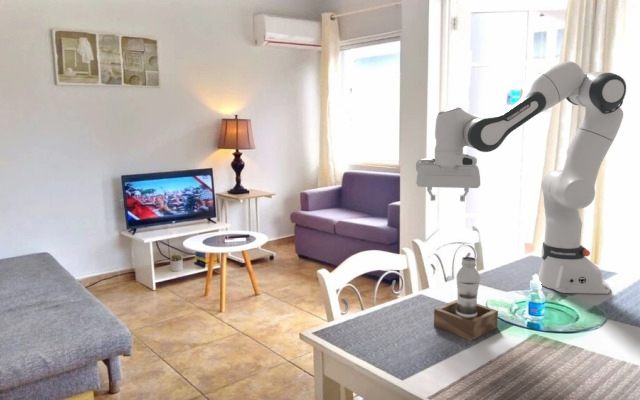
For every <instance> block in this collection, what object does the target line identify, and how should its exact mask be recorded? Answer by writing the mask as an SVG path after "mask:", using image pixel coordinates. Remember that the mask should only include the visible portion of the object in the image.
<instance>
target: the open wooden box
mask: <svg viewBox="0 0 640 400" xmlns="http://www.w3.org/2000/svg"><path fill="white" fill-rule="evenodd" d="M456 307H457V299H455V300H453V301H450V302H448V303H445V304H443V305H440V306H437V307H436V308H435V307H434V310H433V326H435V327H437V328H439V329H442V330H443V331H446V332H449V333H451V334H453V335H456V336H458V337H460V338H464V339H466V340H469V341H470V342H471V341H473V340H476V339H477V338H479V337H481V336H484V335H485V334H487V333H490V332H491V331H493V330H495V329H498V321H499V320H498V318H499V317H498V315H499V311H498V310H497V309H495V308H490V307H488V306H485V305H482V304H479V303H477V313H478V317H477V318H475V319H473V320H471V321H470V320H468V319H465V318H462V317H460V316H457V315H455V311H456Z"/></svg>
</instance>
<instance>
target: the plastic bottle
mask: <svg viewBox="0 0 640 400" xmlns="http://www.w3.org/2000/svg"><path fill="white" fill-rule="evenodd" d="M476 266H477V263H476V258H475V257H472V256H464V257H462V259H461V268H459V269H458V271H457V273H456V275H455V276H456V285H457V299H456V300H457V307H456V311H455V315H457V316H460V317H462V318H465V319H468V320H470V321H471V320H473V319H475V318H477V317H478V313H477V304H478V302H477V301H478V290H479V286H480V282H481V277H480V274H479V272H478V270H477V269H476Z"/></svg>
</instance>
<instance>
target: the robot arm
mask: <svg viewBox="0 0 640 400" xmlns="http://www.w3.org/2000/svg"><path fill="white" fill-rule="evenodd" d="M626 93H627V84H626V81H625V79H624V78H623V77H622V76H620V75H618V74H616V73H613V72H602V71H592V72H583V69H582V68H581V66H580V65H579V64H577V63H576V62H573V61H571V60H568V61H563V62H561V63H558V64H555V65H554V66H551V67H550V68H547V69H546V70H543V71H541V72H540V73H538V74H537V75H535V76H534V77H532V78H531V79H530V80H527V82H526V83H525V84H524V85H523V86H522V87H521V88H520V91H519V100H518V101H517V102H516V103H515V104H513V105H512V106H510V107H509V108H507V109H505V110H504V111H502V112H501V113H499V114H498V115H496V116H494V117H486V118H481V117H478V116H475V115H473V114H471V113H468V112H467V111H465V110H463V109H462V107H453V108H452V107H450V108H446V109H443V110H441V111H439V112H438V114H437V115H436V119H435V129H434V136H435V143H436V144H435V148H434V158H421V159H419V160H418V161H416V163H415V170H416V171H417V175H416V185H417V187H418V188H419V187H420V188H427V189H426V190H427V192H428V194H429V196H430V201H433V202H436V194H434V193H433V192H432V189H433V188H445V189H446V188H453V189H455V188H457V189H459V188H460V189H461V188H462V189H464V190H463V191H464V193H463V195H462V194H460V195H459V201H460V202H465V201H466V196H467V195H468V193H469V191H470V190H469V189H479V188H480V187H481V175H480V174H481V172H480V169H479V166H478V164H477V163H478V159H477V157H475V156H472V155H469V154H466V153H464V147H469V148H471V149H475V150H477V151H479V152H482V153H489V152H493V151H495V150H497V149H498V148H499V147H500V146H501V145H502V144H503V142H504V141H505V140H506V138H507V137H508V136H509V135H510V134H511V133H512V132H514V131H515V130H517V128H519V127H521V126H522V125H524V124H526V123H527V122H528V121H530V120H531V119H532V118H534V117H535V116H537V115H539V114H541V113H543V112H545V111H547V110H549V109H550V108H552V107H554V106H557V104H560V103H561V102H562V101H563V100H565V99H566V100H567V102H568V103H571V104H572V105H574V106H580V107H584V108H585V114H584V117H583V120H582V122H581V123H580V125H579V127H578V128H577V130H576V132H575V135H574V137H573V138H572V139H571V142H570V144H569V146H568V147H567V150H566V159H565V163H564V166H563V169H556V170H551V171H549V172H548V173H546V174H544V176H543V178H542V179H541V184H540V186H541V191H542V195H543V206H544V214H545V215H544V216H545V225H544V226H545V227H544V241H543V242H542V247H541V260H542V261H541V265H540V269H539V271H538V272H539V273H538V275H537V277H538V276H539V279H540V281H541V283H542V285H541V286H543V287H544V288H548V289H550V290H554V291H557V292H559V293H562V294H588V295H589V294H593V295H594V294H596V295H597V294H599V295H600V294H601V295H608V294H609V293H610V292H611V287H610V285H609V284H608V282H606V281H605V280H604V277H603V274H602V271H601V269H600V268H599V266H597V265H596V264H595V263H594V262H592V260H590V259H589V258H588V257H589V256H590V255H591V252H590V251H589V249H587V248H586V247H584V246H583V245H581V239H582V227H583V226H582V225H583V224H582V221H581V217H580V213H579V209H584V208H587V207H588V206H589V205H591V204H592V202H593V201H594V199H595V195H596V189H595V186H596V182H597V178H598V174H599V170H600V168H601V165H602V162H603V161H604V159H605V157H606V155H607V154H608V152H609V150H610V148H611V146H612V144H613V142H614V140H615V138H616V136H617V135H618V133H619V131H620V130H619V129H620V127H621V125H622V122H623V118H624V111H623V110H622V108H621V106H622V105H623V102H624V99H625V96H626Z"/></svg>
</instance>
